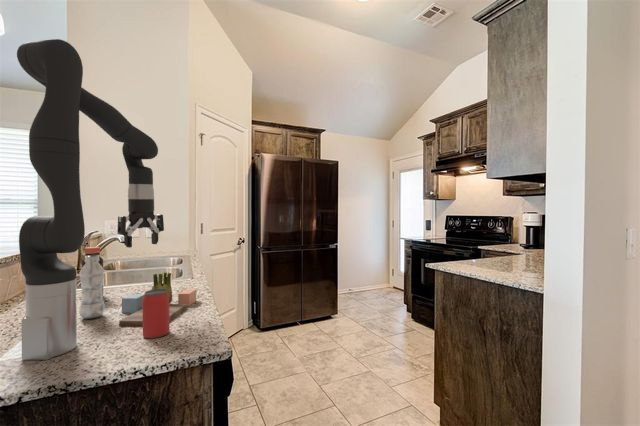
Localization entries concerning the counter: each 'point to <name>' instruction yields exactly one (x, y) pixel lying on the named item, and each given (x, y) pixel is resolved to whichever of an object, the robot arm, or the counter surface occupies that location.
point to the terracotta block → (187, 297)
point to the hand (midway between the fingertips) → (142, 245)
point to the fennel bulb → (165, 284)
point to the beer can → (155, 313)
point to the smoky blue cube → (132, 303)
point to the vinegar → (93, 252)
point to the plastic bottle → (92, 288)
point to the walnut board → (137, 317)
